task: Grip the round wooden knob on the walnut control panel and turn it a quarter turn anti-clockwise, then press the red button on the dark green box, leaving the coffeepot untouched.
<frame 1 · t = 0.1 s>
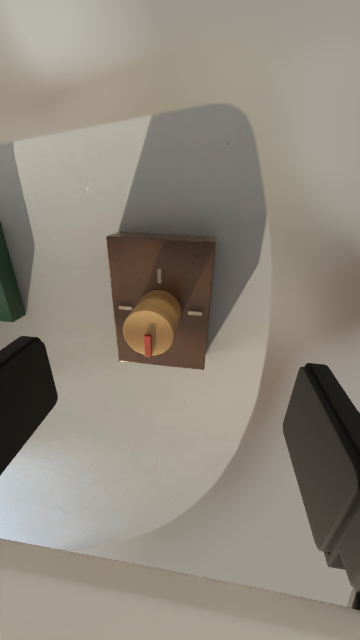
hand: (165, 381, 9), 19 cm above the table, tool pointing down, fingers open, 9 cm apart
panel: (165, 299, 28), on the table
dial: (154, 321, 23), point 6 cm above the table, hinge at 0.0°
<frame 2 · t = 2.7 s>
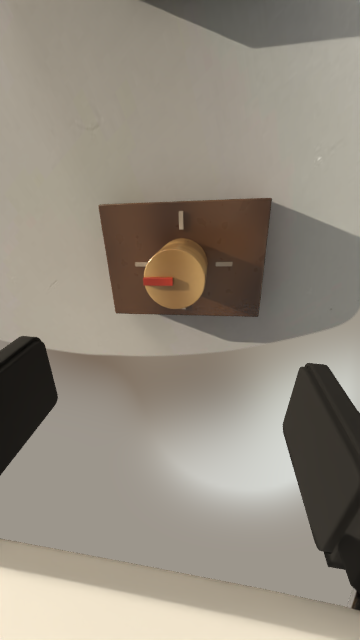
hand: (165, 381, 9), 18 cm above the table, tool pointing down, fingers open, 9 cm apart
panel: (186, 256, 25), on the table
dial: (178, 272, 20), point 6 cm above the table, hinge at 0.0°
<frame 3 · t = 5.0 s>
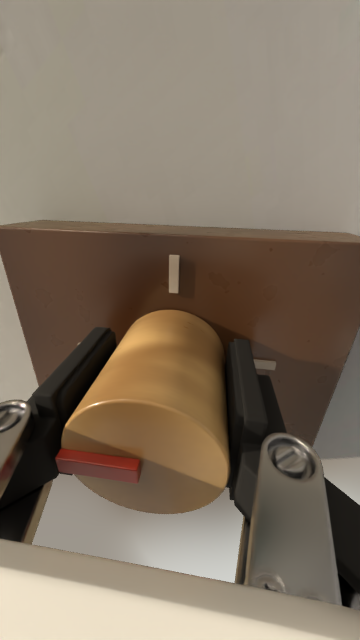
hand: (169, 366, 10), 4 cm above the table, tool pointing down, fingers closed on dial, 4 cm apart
panel: (181, 323, 13), on the table
dial: (160, 399, 8), point 6 cm above the table, hinge at 0.1°, touching gripper
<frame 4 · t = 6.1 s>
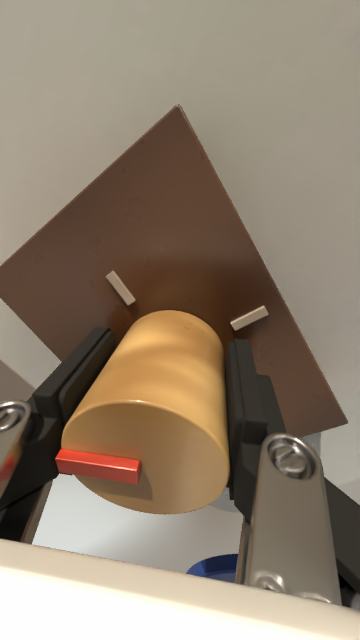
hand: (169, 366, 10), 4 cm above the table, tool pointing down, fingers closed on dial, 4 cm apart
panel: (181, 324, 13), on the table
dial: (160, 399, 8), point 6 cm above the table, hinge at 54.7°, touching gripper
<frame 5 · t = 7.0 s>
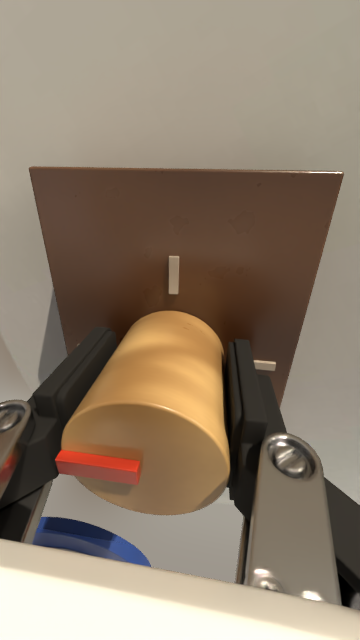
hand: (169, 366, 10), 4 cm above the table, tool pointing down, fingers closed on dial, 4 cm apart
panel: (181, 324, 13), on the table
dial: (160, 400, 8), point 6 cm above the table, hinge at 90.1°, touching gripper
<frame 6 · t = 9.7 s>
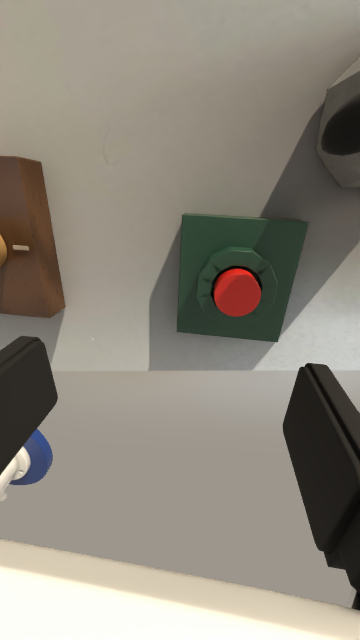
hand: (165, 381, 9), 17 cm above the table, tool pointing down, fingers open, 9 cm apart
button box: (232, 277, 24), on the table
panel: (8, 240, 25), on the table
button: (236, 292, 20), point 4 cm above the table, slide at 0.1 cm
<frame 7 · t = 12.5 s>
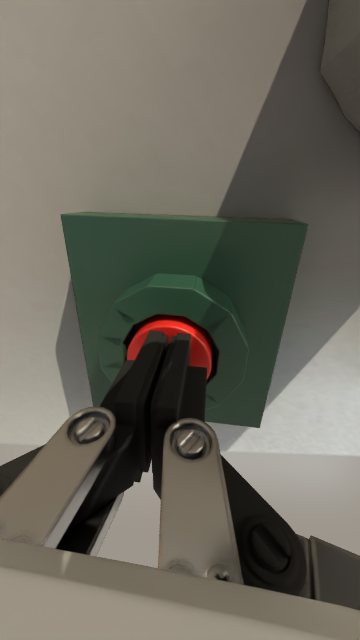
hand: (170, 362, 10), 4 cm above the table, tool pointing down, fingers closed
button box: (180, 318, 14), on the table
button: (171, 352, 11), point 4 cm above the table, slide at -0.9 cm, touching gripper
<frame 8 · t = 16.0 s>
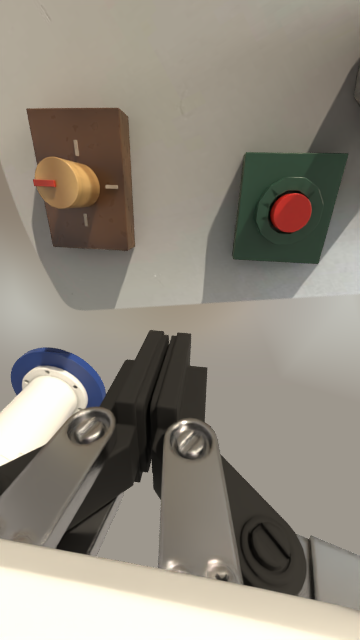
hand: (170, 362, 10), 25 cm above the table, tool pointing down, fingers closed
button box: (280, 211, 29), on the table
panel: (93, 187, 31), on the table
dial: (69, 184, 26), point 6 cm above the table, hinge at 89.1°
button: (290, 213, 25), point 4 cm above the table, slide at 0.1 cm
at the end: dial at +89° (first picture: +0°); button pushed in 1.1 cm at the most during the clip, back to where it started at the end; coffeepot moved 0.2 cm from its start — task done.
